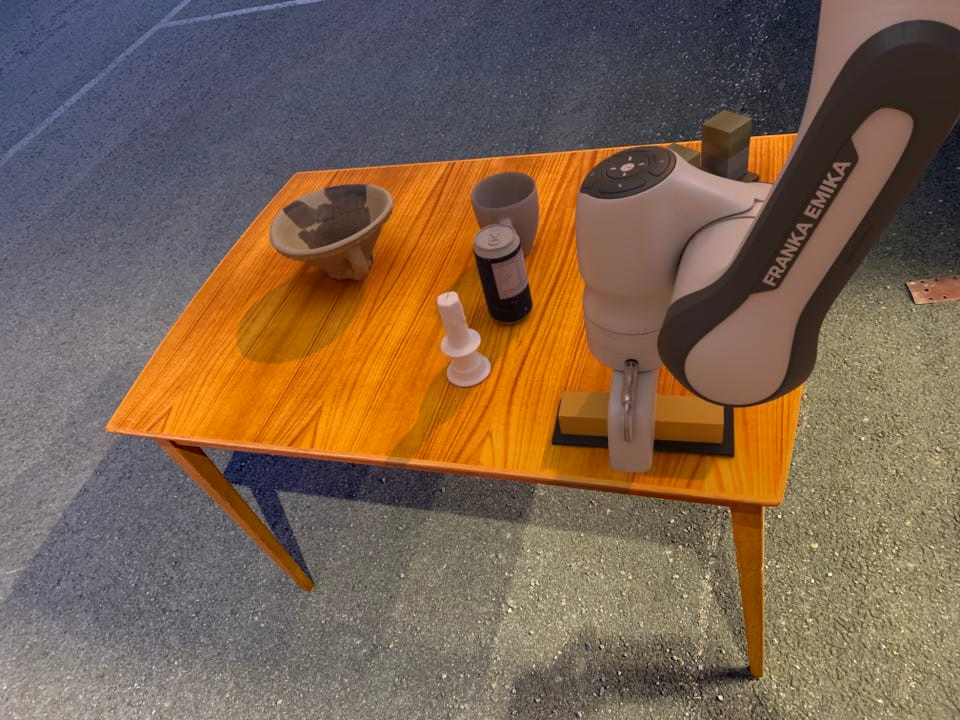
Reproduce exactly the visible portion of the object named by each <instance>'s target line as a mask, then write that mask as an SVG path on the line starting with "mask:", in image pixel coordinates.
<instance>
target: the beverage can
mask: <svg viewBox="0 0 960 720" xmlns="http://www.w3.org/2000/svg"><path fill="white" fill-rule="evenodd" d="M473 242H474V243H473V246H472V252H473V256H474V260H475V264H476V268H477V271H478V276H479V279H480V283H481V288H482V292H483V296H484V299H485V300H484V301H485V304H486V307H487V311H488V314H489V316H490V318H491V319H492V320H494V321H496V322H499V323H502V324H507V325H511V324H516V323H519V322H521V321H522V320H524V319H525V318H526V317H527V316H528V315H529V314H530V313H531V311H532V309H533V306H534V305H533V299H532V294H531V292H532V291H531V287H530V282H529V277H528V272H527V266H526V261H525V256H523V250H522V245H521V240H520V238H519V236H518V235H517V234H516V232H515V230H514V228H513V227H511V226H509V225H507V224H493V225H489V226H486V227H484V228H482V229H479V230H478V231H477V233H476V234H475V235H474V238H473Z"/></svg>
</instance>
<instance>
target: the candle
mask: <svg viewBox="0 0 960 720" xmlns="http://www.w3.org/2000/svg"><path fill="white" fill-rule="evenodd" d="M436 305H437V309H438V313H439V316H440V319H441V322H442V325H443V328H444V332H445V336H443V338H442V339H441V342H440V350H441V352H442V353H443V354H444V355H446V356H448V357H450V358H452V359H451V360H450V363H449V365H448V367H447V369H446V370H447V371H446V377H447V380H448V381H449V382H450V383H451V384H453V385H455V386H457V387H464V388H465V387H466V388H467V387H472V386H476V385H478V384H480V383H482V382H483V381H485V379H486V378H487V377H488V376H489V374H490V372H491V369H492V366H491V362H490V360H489V359H488V357H487V356H484V355H483V354H481V353H480V352H478V351H476V350H477V349H478V348H479V346H480V344H481V340H482V339H481V335H480V334H479V332H477V331H476V330H475V329H473V328H469V327H468V324H467V317H466V315H465V312H464V306H463V305H462V302H461V300H460V297H459V295H458V293H457V292H455V291H446V292H444V293H442V294H440V295H438V296H437V299H436Z"/></svg>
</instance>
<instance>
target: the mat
mask: <svg viewBox="0 0 960 720" xmlns="http://www.w3.org/2000/svg"><path fill="white" fill-rule="evenodd" d="M561 399H562V398H560V399H559V402H558V408H557V413H556V417H555V422H554V428H553V433H552V439H551V445H553V446H568V447H584V448H596V449H597V448H598V449H609V447H608V437H606V436H590V435H574V434H562V433H561V428H560V423H559V417H558V415H559V409H560V404H561ZM653 452H656V453H657V452H659V453H673V454H686V455H687V454H688V455H703V456H718V457H719V456H721V457H731V458H734V457H735V455H736V453H735V408H731V407H724V427H723V440H722V443H705V442H689V441H672V440H656V439H654V445H653Z"/></svg>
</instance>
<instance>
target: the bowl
mask: <svg viewBox="0 0 960 720" xmlns="http://www.w3.org/2000/svg"><path fill="white" fill-rule="evenodd" d="M393 207H394V198H393V196H392V194H391V193H390V192H389V191H388V190H386V189H385V188H383V187H380V186H378V185H375V184H367V183H345V184H337V185H333V186H328V187H324V188H322V189H318V190H314V191H311V192H309V193H307V194H304V195H302V196H300V197H299V198H297V199H295V200H293V201H292V202H290V203H289V204H287V205H286V206H284V207H283V208H282V209H280V211H279V212H278V213H277V214H276V216H275V217H274V218H273V220H272V222H271V224H270V226H269V232H268V238H269V242H270V244H271V246H272V247H273V249H275V251H276V252H278V254H280V255H282V257H285V258H286V259H288V260H289V259H290V260H292V261H298V262H303V263H305V264H308V265H309V266H311V267H314V268H318V269H320V270H321V271H324V272H325V274H326V276H327V275H328V276H329V277H331V279H335V280H338V281H339V280H348V279H351V280H355V281H359V282H360V281H364V280H366V279H367V278H368V277H369V275H370V268H371V266H372V265H373V264H374V255H373V251H374V249H375V247H376V244H377V241H378V239H379V236H380V234H381V231H382V229H383V226H384V225H385V224H386V223H387V222H388V221H389V219H390V217H391V215H392V214H393V210H394V208H393Z"/></svg>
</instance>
